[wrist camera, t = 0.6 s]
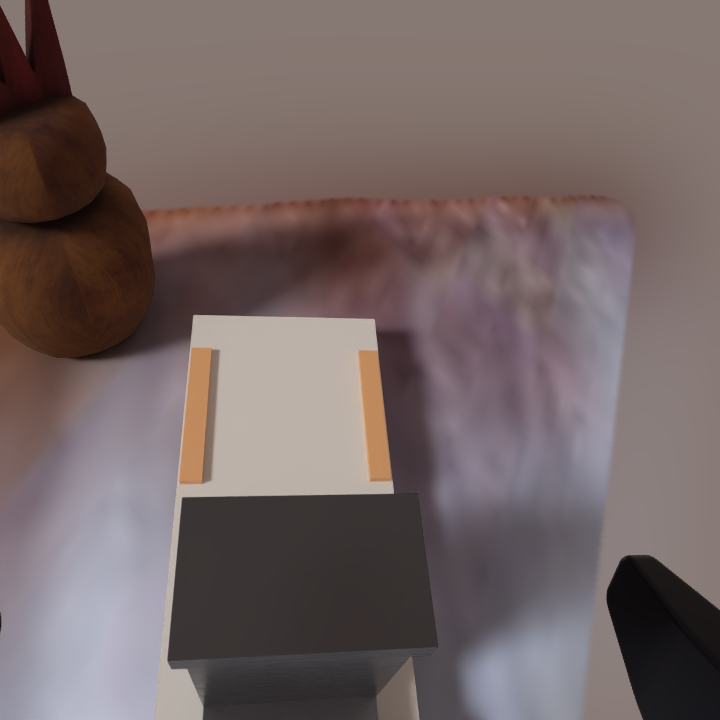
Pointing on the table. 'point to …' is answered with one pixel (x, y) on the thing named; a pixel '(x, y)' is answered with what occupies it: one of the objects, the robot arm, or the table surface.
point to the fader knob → (299, 603)
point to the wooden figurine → (62, 209)
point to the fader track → (280, 441)
